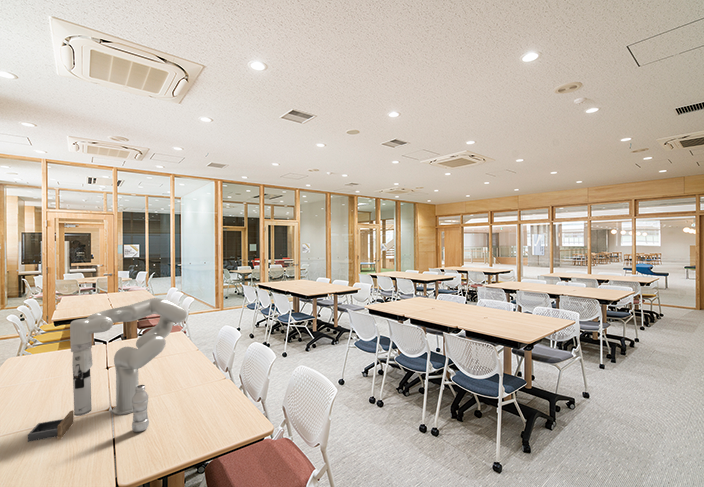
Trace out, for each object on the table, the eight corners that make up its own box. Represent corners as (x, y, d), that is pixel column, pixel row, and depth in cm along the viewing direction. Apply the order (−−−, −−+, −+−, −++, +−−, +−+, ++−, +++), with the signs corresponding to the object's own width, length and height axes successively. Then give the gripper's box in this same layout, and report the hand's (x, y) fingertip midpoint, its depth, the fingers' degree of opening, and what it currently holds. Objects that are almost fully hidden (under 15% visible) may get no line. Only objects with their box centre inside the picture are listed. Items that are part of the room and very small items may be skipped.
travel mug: (82, 416, 148) (80, 373, 148) (70, 415, 149) (69, 372, 149) (95, 409, 154) (94, 367, 154) (84, 408, 156) (82, 366, 155)
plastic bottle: (152, 427, 151) (152, 384, 151) (138, 435, 145) (138, 390, 145) (142, 424, 153) (142, 382, 153) (128, 432, 147) (127, 388, 147)
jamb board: (73, 422, 155) (73, 410, 155) (61, 439, 142) (61, 425, 142) (70, 423, 155) (70, 410, 155) (57, 439, 142) (57, 426, 142)
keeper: (67, 425, 153) (67, 418, 153) (59, 436, 145) (58, 429, 145) (38, 430, 149) (38, 423, 149) (27, 442, 140) (27, 434, 140)
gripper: (84, 351, 145) (85, 391, 145) (97, 339, 161) (98, 376, 161) (63, 353, 142) (64, 394, 142) (78, 342, 158) (79, 378, 158)
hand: (82, 384), depth 152 cm, fingers closed on travel mug, 6 cm apart
